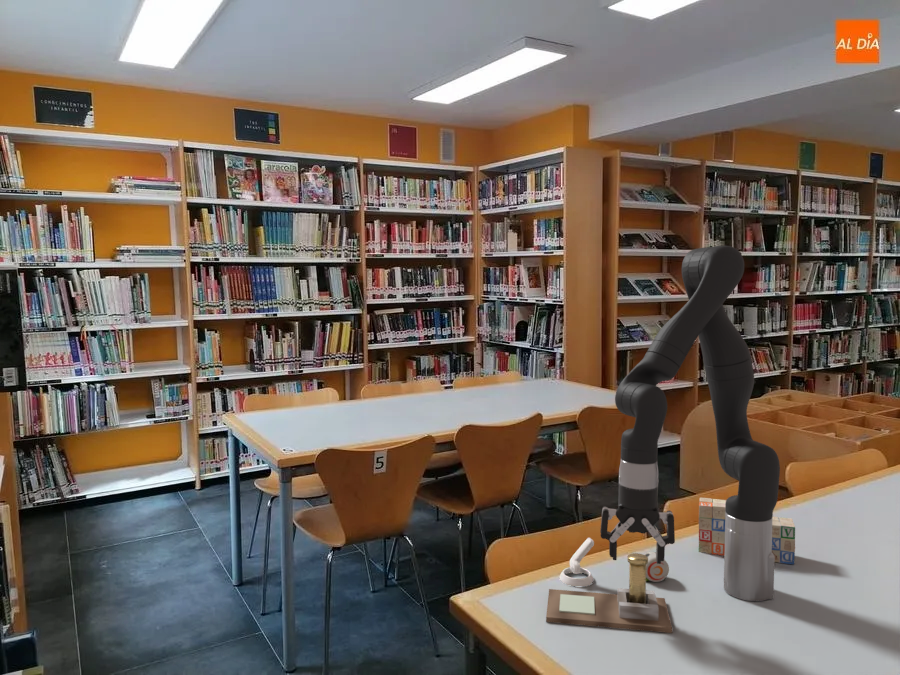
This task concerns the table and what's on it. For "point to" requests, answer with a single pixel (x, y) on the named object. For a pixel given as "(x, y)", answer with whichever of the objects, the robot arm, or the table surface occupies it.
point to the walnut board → (614, 611)
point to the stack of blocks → (715, 531)
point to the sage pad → (577, 604)
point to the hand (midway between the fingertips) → (636, 560)
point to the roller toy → (655, 568)
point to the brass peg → (637, 578)
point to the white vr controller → (578, 566)
